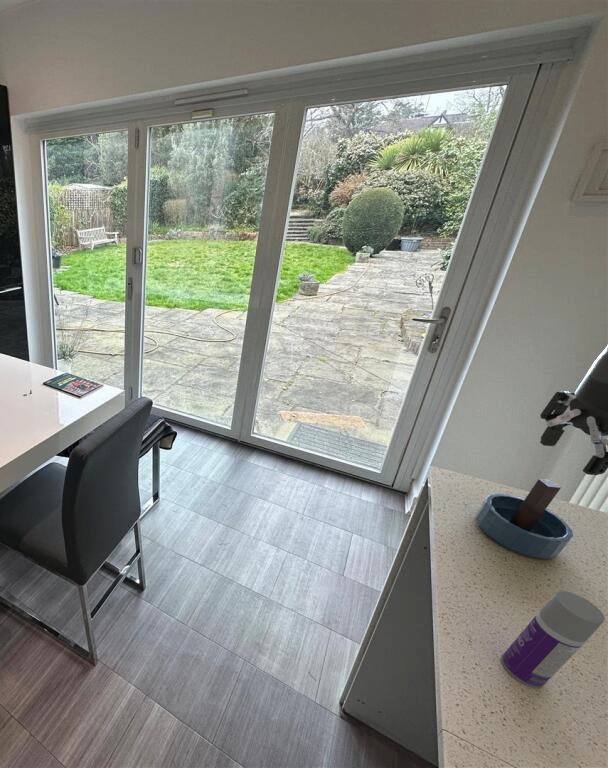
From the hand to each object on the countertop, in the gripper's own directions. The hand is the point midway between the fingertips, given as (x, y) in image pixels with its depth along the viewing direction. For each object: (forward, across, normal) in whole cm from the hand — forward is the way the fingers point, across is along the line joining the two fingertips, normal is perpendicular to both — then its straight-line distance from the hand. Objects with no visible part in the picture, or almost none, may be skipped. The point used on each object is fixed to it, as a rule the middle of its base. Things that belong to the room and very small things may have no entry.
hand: (567, 458), depth 74 cm
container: (+20, -28, +20) cm, 40 cm away
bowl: (+20, 0, 0) cm, 20 cm away
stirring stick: (+19, 0, 0) cm, 19 cm away
